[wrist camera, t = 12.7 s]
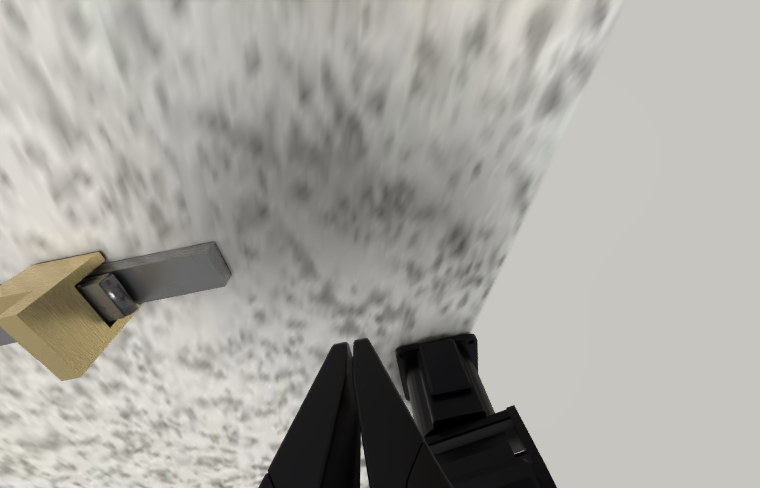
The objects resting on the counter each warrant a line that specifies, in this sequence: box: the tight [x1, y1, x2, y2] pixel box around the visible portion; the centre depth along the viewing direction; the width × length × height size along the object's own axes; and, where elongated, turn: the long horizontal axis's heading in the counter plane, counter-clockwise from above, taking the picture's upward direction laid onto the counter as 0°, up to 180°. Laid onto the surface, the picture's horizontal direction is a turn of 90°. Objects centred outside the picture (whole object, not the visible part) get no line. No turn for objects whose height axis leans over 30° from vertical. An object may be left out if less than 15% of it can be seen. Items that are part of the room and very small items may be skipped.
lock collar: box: [0, 252, 140, 381], centre depth 17 cm, size 4×4×5 cm
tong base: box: [0, 242, 231, 304], centre depth 19 cm, size 20×3×1 cm, turn 100°
